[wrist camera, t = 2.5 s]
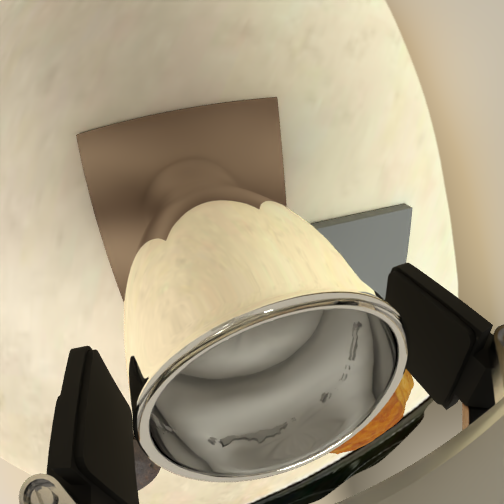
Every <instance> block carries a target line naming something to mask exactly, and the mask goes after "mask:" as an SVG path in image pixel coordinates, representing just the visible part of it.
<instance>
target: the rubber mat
mask: <svg viewBox="0 0 504 504" xmlns="http://www.w3.org/2000/svg"><path fill="white" fill-rule="evenodd" d="M411 217H412V207H410V206H408V205H406V204H402V205H397V206H392V207H387V208H382V209H378V210H373V211H368V212H363V213H359V214H354V215H349V216H345V217H340V218H335V219H331V220H326V221H322V222H317V223H312V224H311V225H312V226H313V227H314V228H316V229H317V230H318V231H319V232H320V233H321V234H322V235H323V236H325V237H326V238H327V239H328V240H329V241H330V242H331V243H332V244H333V245H335V246H336V247H337V248H338V249H339V250H340V251H341V253H342V254H343V255H344V256H345V257H346V258H347V259H348V260H349V261H350V262H351V263H352V264H353V265H354V266H355V267H356V268H357V269H358V270H359V272H360V273H361V274H362V275H363V276H364V277H365V278H366V279H367V281H368V282H369V283H370V284H371V285H372V286H373V288H374V289H375V290H376V291H377V292H378V293H379V294H380V295H381V296H382V298H383V299H384V300H385V296H386V288H387V280H388V275H389V273H391V270H392V268H393V267H395V266H398V265H401V264H404V263H406V259H407V252H408V244H409V236H410V227H411Z"/></svg>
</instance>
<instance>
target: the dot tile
mask: <svg viewBox="0 0 504 504" xmlns="http://www.w3.org/2000/svg"><path fill="white" fill-rule="evenodd" d="M76 136H77V142H78V147H79V151H80V156H81V161H82V165H83V170H84V174H85V178H86V182H87V186H88V190H89V194H90V198H91V202H92V206H93V209H94V213H95V216H96V220H97V223H98V227H99V230H100V233H101V237H102V240H103V243H104V246H105V250H106V253H107V256H108V259H109V262H110V265H111V268H112V271H113V273H114V276H115V279H116V282H117V285H118V288H119V290H120V293H121V296H122V298H123V301H124V300H125V293H126V286H127V279H128V273H129V269H130V265H131V262H132V259H133V257H134V254H135V251H136V249H137V246H138V243H139V241H140V239H141V237H142V235H143V233H144V231H145V229H146V224H145V220H144V214H143V205H144V199H145V195H146V192H147V190H148V188H149V186H150V184H151V182H152V181H153V180H154V178H155V177H156V176H157V175H158V174H159V173H160V172H161V171H162V170H164V169H165V168H167V167H168V166H170V165H172V164H174V163H176V162H179V161H183V160H188V159H203V160H208V161H211V162H214V163H216V164H218V165H220V166H221V167H223V168H224V169H226V170H227V171H228V172H229V173H230V174H231V175H232V176H233V178H234V179H235V181H236V182H237V184H238V185H239V187H240V188H242V189H246V190H249V191H253V192H255V193H258V194H260V195H263V196H265V197H267V198H269V199H272V200H274V201H276V202H278V203H280V204H282V205H284V206H285V207H286V194H285V181H284V168H283V156H282V144H281V133H280V122H279V111H278V101H277V97H273V98H261V99H251V100H242V101H233V102H225V103H218V104H211V105H204V106H198V107H192V108H186V109H180V110H175V111H170V112H165V113H160V114H155V115H150V116H145V117H141V118H137V119H132V120H128V121H124V122H120V123H116V124H112V125H108V126H105V127H101V128H97V129H94V130H90V131H87V132H83V133H80V134H77V135H76Z"/></svg>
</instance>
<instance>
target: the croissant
mask: <svg viewBox="0 0 504 504" xmlns="http://www.w3.org/2000/svg"><path fill="white" fill-rule="evenodd" d="M413 386H414V382H413V379H412V376H411V374H410V373H409V372H408V370H407V369H406V370H405V372H404V375H403V377H402V379H401V381H400V383H399V385H398V387H397V389H396V390H395V392H394V393H393V395H392V396H391V398H390V399H389V401H388V402H387V403H386V405H385V406H384V407H383V408H382V410H381V411H380V412H379V413H378V414H377V415H376V416H375V417H374V418H373V419H372V420H371V421H370V422H369V423H368V424H367V425H366V426H365V427H364V428H363V429H362V430H360V431H359V432H358V433H357V434H356V435H354V436H353V437H352V438H350V439H349V440H348V441H346V442H345V443H343V444H342V445H340V446H339V447H337V448H336V449H334V450H333V451H331V452H329V453H336V454H339V453H342V452H348V451H352V450H356V449H358V448H360V447H362V446H364V445H366V444H368V443H370V442H371V441H373V440H374V439H375V438H376V437H378V436H379V435H381V434H383V433H384V432H385V431H386V430H388V429H389V428H391V427H392V426H394V425H395V424H396V423H397V422H399V421H400V419H401V418H402V417H403V413H404V410H405V405H406V401H407V400H408V398H409V395H410V393H411V389H412V388H413Z"/></svg>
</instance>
